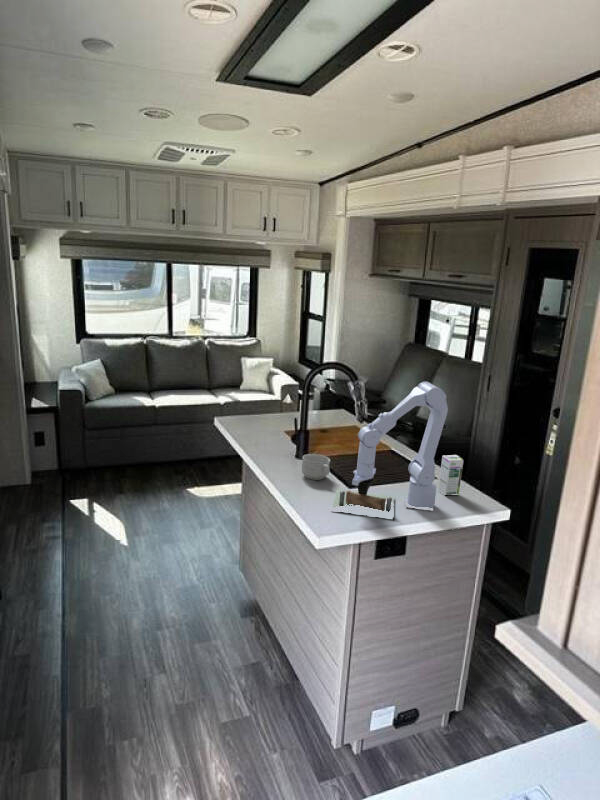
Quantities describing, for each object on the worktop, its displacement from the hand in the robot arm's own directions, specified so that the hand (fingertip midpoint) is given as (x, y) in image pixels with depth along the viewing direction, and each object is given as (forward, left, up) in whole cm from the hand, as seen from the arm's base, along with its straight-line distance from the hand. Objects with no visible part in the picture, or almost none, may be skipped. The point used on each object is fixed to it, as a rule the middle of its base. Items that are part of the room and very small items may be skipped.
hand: (361, 498), depth 192 cm
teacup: (+18, -19, -3) cm, 27 cm away
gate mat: (-1, -1, -3) cm, 3 cm away
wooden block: (-1, +2, -2) cm, 3 cm away
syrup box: (-32, -22, -3) cm, 39 cm away
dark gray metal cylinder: (-1, +3, -3) cm, 4 cm away
